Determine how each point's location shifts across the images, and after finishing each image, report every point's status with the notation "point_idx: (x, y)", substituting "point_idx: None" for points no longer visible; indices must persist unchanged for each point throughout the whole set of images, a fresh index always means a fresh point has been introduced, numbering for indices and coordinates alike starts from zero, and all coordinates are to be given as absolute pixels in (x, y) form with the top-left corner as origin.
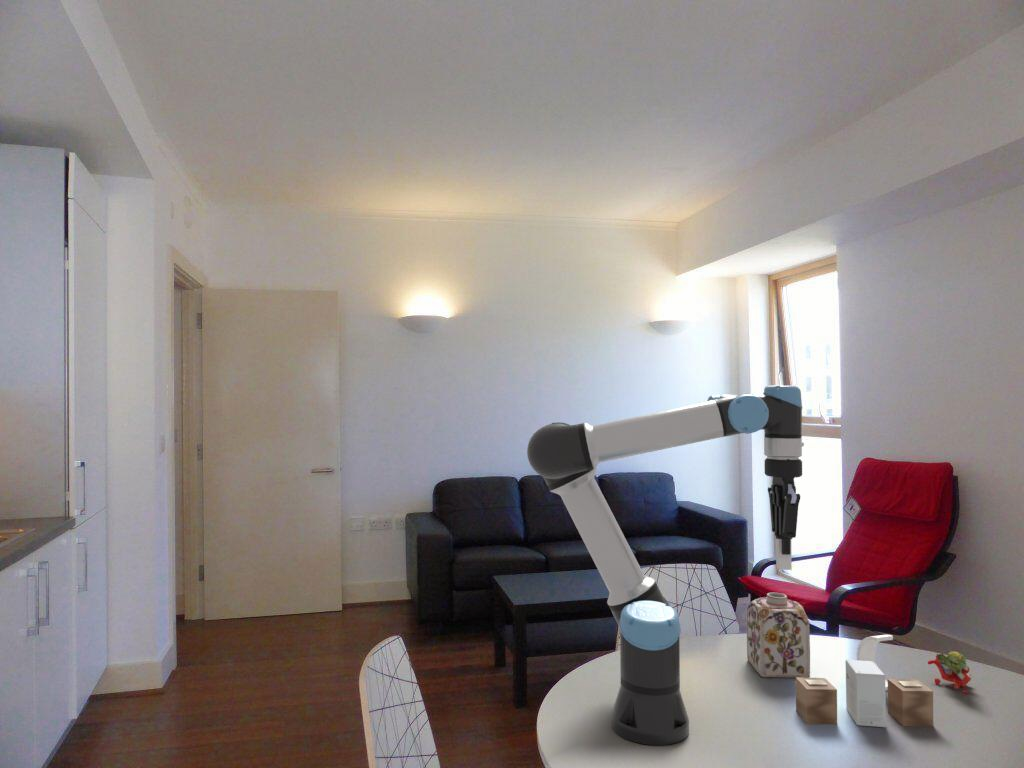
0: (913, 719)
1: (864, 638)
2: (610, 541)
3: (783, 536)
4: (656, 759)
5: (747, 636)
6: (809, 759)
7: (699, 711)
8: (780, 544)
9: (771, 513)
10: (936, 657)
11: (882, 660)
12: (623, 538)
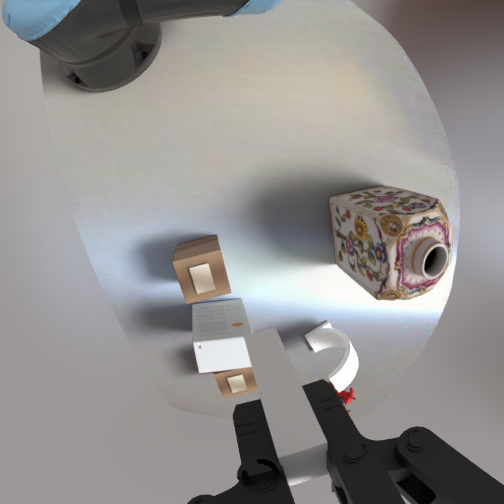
0: None
1: (346, 360)
2: None
3: (195, 502)
4: (41, 74)
5: (406, 191)
6: (81, 238)
7: (175, 97)
8: (270, 434)
9: (491, 497)
10: (353, 398)
11: (390, 342)
12: None
